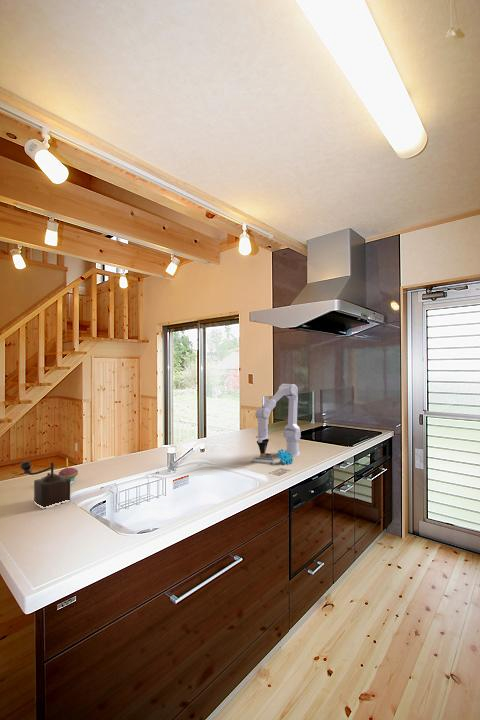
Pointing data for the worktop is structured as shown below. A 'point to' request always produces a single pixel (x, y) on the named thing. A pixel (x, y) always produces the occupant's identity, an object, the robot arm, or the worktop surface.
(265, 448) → the oak pin
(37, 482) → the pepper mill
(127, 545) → the worktop surface
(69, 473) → the cupcake
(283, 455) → the gear
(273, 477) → the worktop surface
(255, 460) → the grey tray
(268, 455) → the charcoal cup
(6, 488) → the worktop surface
